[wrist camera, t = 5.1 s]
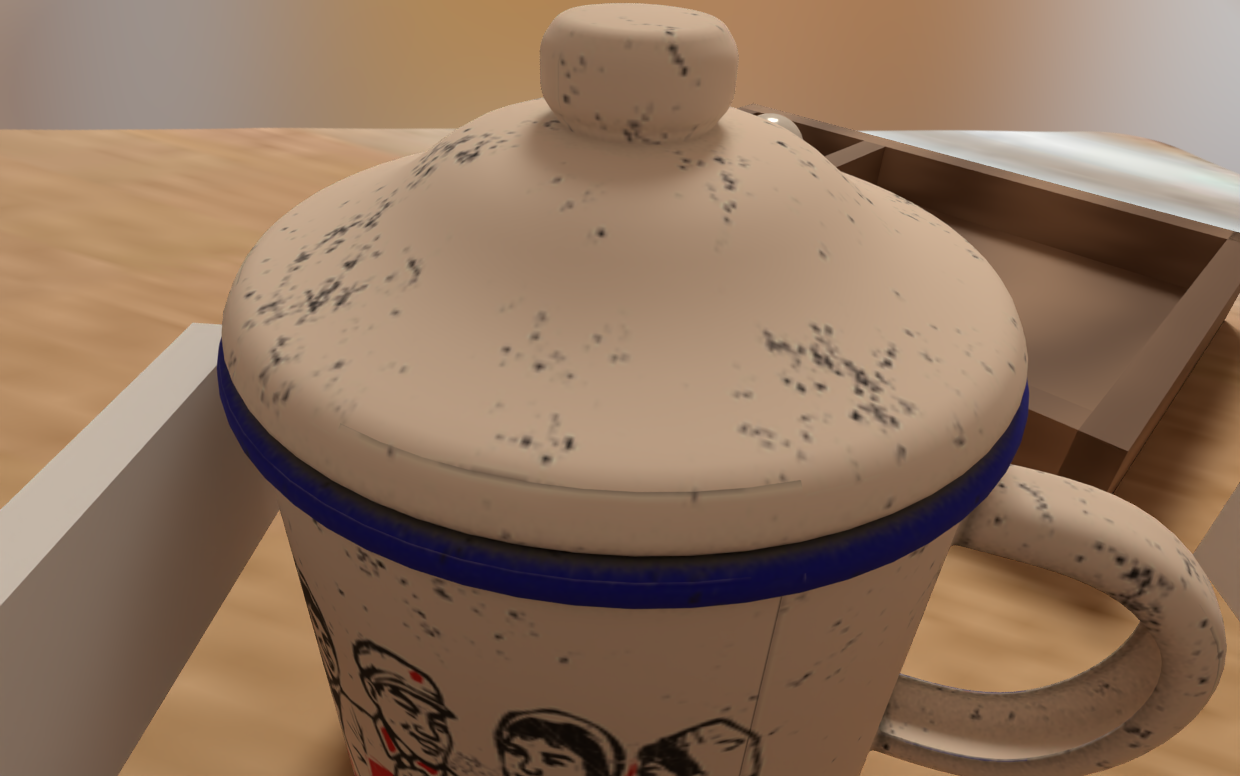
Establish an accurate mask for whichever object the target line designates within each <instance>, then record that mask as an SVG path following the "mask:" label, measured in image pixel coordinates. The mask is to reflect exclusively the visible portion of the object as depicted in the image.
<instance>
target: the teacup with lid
mask: <svg viewBox="0 0 1240 776" xmlns="http://www.w3.org/2000/svg"><path fill="white" fill-rule="evenodd" d="M737 69H738V50H737V47H736V43H735V41H734V39H733V37H732V35H731V33H730V31H729V29H728V28H727V27H726V25H725V24H724V23H723V22H722V21H720V20H719V19H717V18H716V17H714V16H712V15H709V14H707V13H703V12H699V11H695V10H691V9H685V8H680V7H673V6H665V5H654V4H637V3H635V4H634V3H609V4H595V5H586V6H579V7H574V8H571V9H568V10H566V11H564V12H562V13H561V14H559V15H558V16H557V17H556V18H555V19H554V20H553V22H552V23H551V24H550V26H549V28H548V29H547V31H546V32H545V34H544V36H543V39H542V42H541V47H540V84H541V90H542V93H543V96H544V97H543V98H538V99H534V100H530V101H526V102H521V103H517V104H513V105H510V106H506V107H503V108H499V109H497V110H494V111H491V112H489V113H486V114H484V115H482V116H480V117H479V118H477V119H475V120H473V121H471V122H469V123H467V124H466V125H464V126H462V127H460V128H458V129H456V130H455V131H453V132H452V133H450V134H449V135H447V136H446V137H445V138H443V139H442V140H441V141H439V142H438V143H437V144H435V145H434V146H433V147H431V148H430V149H429V150H427V151H424V152H421V153H417V154H413V155H409V156H405V157H402V158H399V159H396V160H392V161H389V162H386V163H383V164H380V165H377V166H374V167H372V168H369V169H366V170H363V171H361V172H358V173H356V174H354V175H351V176H349V177H347V178H344V179H342V180H340V181H338V182H336V183H334V184H332V185H330V186H328V187H326V188H324V189H322V190H320V191H318V192H317V193H315V194H314V195H312V196H311V197H309V198H307V199H306V200H304V201H303V202H301V203H300V204H298V205H297V206H295V207H294V208H293V209H292V210H290V211H289V212H288V213H286V214H285V215H284V216H282V217H281V218H280V219H279V220H278V221H276V222H275V223H274V224H273V225H272V226H271V227H270V228H269V229H268V230H267V231H266V232H265V233H264V234H263V236H262V237H261V238H260V239H259V241H258V242H257V243H256V244H255V246H254V247H253V248H252V250H251V251H250V252H249V253H248V255H247V256H246V258H245V260H244V262H243V264H242V265H241V267H240V269H239V271H238V273H237V275H236V277H235V280H234V282H233V284H232V287H231V290H230V292H229V295H228V299H227V302H226V305H225V308H224V311H223V321H222V332H221V333H222V336H221V340H220V343H219V348H218V359H217V377H218V386H219V395H220V399H221V402H222V405H223V408H224V411H225V414H226V417H227V420H228V423H229V426H230V428H231V429H232V431H233V433H234V435H235V437H236V438H237V440H238V442H239V444H240V446H241V448H242V449H243V451H244V453H245V454H246V455H247V457H248V458H249V459H250V460H251V462H252V463H253V464H254V465H255V467H256V468H257V469H258V470H259V472H260V473H261V474H262V475H263V477H264V478H265V479H266V480H267V481H268V482H270V483H271V484H272V485H273V487H274V490H275V494H276V498H277V501H278V505H279V508H280V512H281V515H282V519H283V522H284V526H285V529H286V533H287V537H288V540H289V544H290V547H291V551H292V554H293V558H294V561H295V565H296V569H297V572H298V576H299V579H300V583H301V586H302V590H303V593H304V597H305V601H306V604H307V608H308V611H309V615H310V618H311V622H312V625H313V629H314V633H315V636H316V640H317V643H318V647H319V650H320V654H321V657H322V661H323V665H324V668H325V672H326V675H327V679H328V682H329V686H330V689H331V693H332V696H333V700H334V704H335V707H336V711H337V714H338V718H339V721H340V725H341V728H342V732H343V736H344V739H345V743H346V746H347V750H348V753H349V757H350V760H351V764H352V768H353V771H354V775H355V776H859V775H860V773H861V770H862V768H863V765H864V762H865V760H866V757H867V755H868V752H869V751H872V750H874V751H878V752H881V753H884V754H887V755H890V756H893V757H896V758H898V759H901V760H905V761H908V762H911V763H914V764H917V765H921V766H924V767H928V768H931V769H935V770H938V771H943V772H947V773H951V774H955V775H960V776H1084V775H1088V774H1092V773H1096V772H1099V771H1103V770H1107V769H1110V768H1112V767H1115V766H1118V765H1121V764H1124V763H1126V762H1129V761H1131V760H1133V759H1135V758H1137V757H1139V756H1142V755H1144V754H1146V753H1148V752H1149V751H1151V750H1153V749H1154V748H1156V747H1158V746H1160V745H1161V744H1163V743H1165V742H1166V741H1167V740H1169V739H1170V738H1172V737H1173V736H1174V735H1176V734H1177V733H1179V732H1180V731H1181V730H1182V729H1183V728H1184V727H1186V726H1187V725H1188V724H1189V723H1190V722H1191V721H1192V720H1193V719H1194V718H1195V717H1196V716H1197V715H1198V714H1199V712H1200V711H1201V710H1202V709H1203V708H1204V706H1205V705H1206V704H1207V703H1208V701H1209V699H1210V698H1211V696H1212V694H1213V693H1214V691H1215V689H1216V688H1217V686H1218V683H1219V681H1220V678H1221V675H1222V672H1223V670H1224V665H1225V657H1226V648H1227V645H1226V637H1225V629H1224V622H1223V618H1222V615H1221V612H1220V608H1219V605H1218V601H1217V598H1216V596H1215V593H1214V591H1213V588H1212V586H1211V584H1210V581H1209V579H1208V577H1207V575H1206V574H1205V572H1204V571H1203V569H1202V568H1201V566H1200V565H1199V563H1198V562H1197V560H1196V559H1195V557H1194V556H1193V554H1192V553H1191V552H1190V551H1189V550H1188V549H1187V548H1186V546H1185V545H1184V544H1183V543H1182V542H1181V541H1180V540H1179V539H1178V538H1177V537H1176V535H1175V534H1173V533H1172V532H1171V531H1170V530H1169V529H1167V528H1166V527H1165V526H1164V525H1163V524H1161V523H1160V522H1159V521H1158V520H1157V519H1155V518H1154V517H1152V516H1151V515H1149V514H1148V513H1146V512H1144V511H1143V510H1141V509H1140V508H1138V507H1137V506H1135V505H1133V504H1131V503H1129V502H1127V501H1125V500H1123V499H1121V498H1119V497H1117V496H1115V495H1113V494H1110V493H1108V492H1105V491H1103V490H1100V489H1098V488H1095V487H1093V486H1090V485H1087V484H1084V483H1081V482H1078V481H1075V480H1071V479H1068V478H1065V477H1061V476H1057V475H1054V474H1050V473H1046V472H1042V471H1038V470H1034V469H1030V468H1025V467H1021V466H1017V465H1012V464H1011V462H1012V460H1013V458H1014V456H1015V454H1016V452H1017V450H1018V448H1019V446H1020V444H1021V441H1022V437H1023V433H1024V429H1025V426H1026V422H1027V418H1028V408H1029V387H1028V380H1027V368H1028V354H1027V347H1026V340H1025V336H1024V333H1023V328H1022V325H1021V322H1020V319H1019V316H1018V313H1017V310H1016V308H1015V305H1014V302H1013V299H1012V297H1011V296H1010V294H1009V292H1008V290H1007V289H1006V287H1005V285H1004V283H1003V282H1002V280H1001V279H1000V277H999V275H998V274H997V273H996V272H995V270H994V269H993V268H992V266H991V265H990V264H989V263H988V261H987V260H986V259H985V258H984V257H983V256H982V255H981V254H980V253H979V252H978V251H977V250H976V249H975V248H974V247H973V246H972V245H971V244H970V243H969V242H968V241H967V240H966V239H964V238H963V237H962V236H961V235H959V234H958V233H957V232H956V231H955V230H953V229H952V228H951V227H950V226H948V225H947V224H945V223H944V222H942V221H941V220H939V219H938V218H937V217H935V216H934V215H932V214H931V213H929V212H927V211H925V210H924V209H922V208H920V207H919V206H917V205H915V204H913V203H912V202H910V201H908V200H906V199H904V198H902V197H900V196H898V195H896V194H894V193H892V192H890V191H887V190H885V189H883V188H881V187H878V186H876V185H874V184H871V183H869V182H867V181H864V180H862V179H859V178H857V177H854V176H851V175H849V174H846V173H843V172H841V171H839V170H838V169H837V168H836V167H835V166H834V165H833V164H832V163H831V162H830V161H829V160H827V159H826V158H825V157H824V156H823V155H822V154H821V153H820V152H819V151H818V150H816V149H815V148H814V147H812V146H811V145H810V144H808V143H807V142H805V141H804V140H802V139H801V138H799V137H798V136H796V135H795V134H794V133H792V132H791V131H789V130H787V129H785V128H784V127H782V126H780V125H778V124H776V123H774V122H771V121H769V120H766V119H764V118H761V117H758V116H756V115H753V114H750V113H747V112H744V111H742V110H739V109H736V108H733V107H730V105H731V103H732V100H733V98H734V94H735V85H736V77H737ZM953 545H958V546H963V547H967V548H971V549H974V550H978V551H982V552H986V553H990V554H993V555H997V556H1001V557H1005V558H1009V559H1012V560H1016V561H1020V562H1023V563H1027V564H1031V565H1034V566H1037V567H1041V568H1044V569H1047V570H1051V571H1054V572H1057V573H1060V574H1062V575H1065V576H1068V577H1071V578H1074V579H1076V580H1078V581H1081V582H1083V583H1086V584H1088V585H1090V586H1092V587H1094V588H1096V589H1098V590H1100V591H1102V592H1104V593H1106V594H1107V595H1109V596H1111V597H1112V598H1114V599H1115V600H1117V601H1118V602H1120V603H1121V604H1122V605H1124V606H1125V607H1126V608H1127V609H1128V610H1130V611H1131V612H1132V613H1133V614H1134V615H1135V616H1136V617H1137V618H1138V619H1139V620H1140V623H1139V624H1138V626H1137V627H1136V629H1135V630H1134V632H1133V633H1132V634H1131V636H1130V637H1129V638H1128V639H1127V640H1126V641H1125V642H1124V643H1123V644H1122V645H1121V646H1120V647H1119V648H1118V649H1117V650H1116V651H1115V652H1113V653H1112V654H1111V655H1110V656H1108V657H1107V658H1106V659H1104V660H1103V661H1101V662H1100V663H1098V664H1097V665H1095V666H1093V667H1092V668H1090V669H1088V670H1086V671H1085V672H1082V673H1080V674H1078V675H1076V676H1074V677H1071V678H1069V679H1066V680H1063V681H1061V682H1058V683H1055V684H1052V685H1048V686H1044V687H1040V688H1036V689H1031V690H1025V691H1017V692H980V691H971V690H965V689H959V688H954V687H949V686H944V685H940V684H936V683H932V682H928V681H924V680H921V679H917V678H914V677H910V676H907V675H904V674H900V672H901V669H902V667H903V664H904V662H905V659H906V656H907V654H908V651H909V649H910V646H911V644H912V641H913V639H914V636H915V634H916V631H917V629H918V626H919V624H920V621H921V619H922V616H923V614H924V611H925V609H926V606H927V603H928V601H929V598H930V596H931V593H932V591H933V588H934V586H935V583H936V581H937V578H938V576H939V573H940V571H941V568H942V566H943V563H944V561H945V558H946V556H947V553H948V550H949V548H950V547H951V546H953Z"/></svg>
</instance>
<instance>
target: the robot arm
mask: <svg viewBox="0 0 1240 776" xmlns="http://www.w3.org/2000/svg"><path fill="white" fill-rule="evenodd" d="M221 332H222V325H218V324H203V323H192V324H191V325H190V326H189V327H188V328H187V329H186V330H185V331H184V332H183V333H182V334H181V335H180V336H179V337H178V338H177V339H176V340H175V341H174V342H173V343H172V344H171V345H169V346H168V347H167V348H166V349H165V350H164V351H163V352H162V353H161V354H160V355H159V356H158V357H157V358H156V359H155V360H154V361H153V362H152V363H151V364H150V365H149V366H148V367H147V368H146V369H145V370H144V371H143V372H142V373H141V374H140V375H139V376H138V377H137V378H136V379H135V380H133V381H132V382H131V383H130V384H129V385H128V386H127V387H126V388H125V389H124V390H123V391H122V392H121V393H120V394H119V395H118V396H117V397H116V398H115V399H114V400H113V401H112V402H111V403H110V404H109V405H108V406H107V407H106V408H105V409H104V410H103V411H102V412H101V413H100V414H99V415H97V416H96V417H95V418H94V419H93V420H92V421H91V422H90V423H89V424H88V425H87V426H86V427H85V428H84V429H83V430H82V431H81V432H80V433H79V434H78V435H77V436H76V437H75V438H74V439H73V440H72V441H71V442H70V443H69V444H68V445H67V446H66V447H65V448H64V449H63V450H61V451H60V452H59V453H58V454H57V455H56V456H55V457H54V458H53V459H52V460H51V461H50V462H49V463H48V464H47V465H46V466H45V467H44V468H43V469H42V470H41V471H40V472H39V473H38V474H37V475H36V476H35V477H34V478H33V479H32V480H31V481H30V482H29V483H28V484H27V485H25V486H24V487H23V488H22V489H21V490H20V491H19V492H18V493H17V494H16V495H15V496H14V497H13V498H12V499H11V500H10V501H9V502H8V503H7V504H6V505H5V506H4V507H3V508H2V509H1V510H0V776H118V774H119V773H120V771H121V769H122V768H123V766H124V764H125V763H126V761H127V759H128V758H129V756H130V754H131V753H132V751H133V750H134V748H135V746H136V745H137V743H138V741H139V740H140V738H141V736H142V735H143V733H144V731H145V730H146V728H147V727H148V725H149V723H150V722H151V720H152V718H153V717H154V715H155V713H156V712H157V710H158V708H159V707H160V705H161V703H162V702H163V700H164V699H165V697H166V695H167V694H168V692H169V690H170V689H171V687H172V685H173V684H174V682H175V680H176V679H177V677H178V676H179V674H180V672H181V671H182V669H183V667H184V666H185V664H186V662H187V661H188V659H189V657H190V656H191V654H192V653H193V651H194V649H195V648H196V646H197V644H198V643H199V641H200V639H201V638H202V636H203V634H204V633H205V631H206V630H207V628H208V626H209V625H210V623H211V621H212V620H213V618H214V616H215V615H216V613H217V611H218V610H219V608H220V607H221V605H222V603H223V602H224V600H225V598H226V597H227V595H228V593H229V592H230V590H231V588H232V587H233V585H234V584H235V582H236V580H237V579H238V577H239V575H240V574H241V572H242V570H243V569H244V567H245V565H246V564H247V562H248V561H249V559H250V557H251V556H252V554H253V552H254V551H255V549H256V547H257V546H258V544H259V542H260V541H261V539H262V538H263V536H264V534H265V533H266V531H267V529H268V528H269V526H270V524H271V523H272V521H273V519H274V518H275V516H276V514H277V513H278V511H279V510H280V508H279V505H278V501H277V498H276V494H275V490H274V487H273V485H272V484H271V483H270V482H268V481H267V480H266V479H265V478H264V477H263V475H262V474H261V473H260V472H259V470H258V469H257V468H256V467H255V465H254V464H253V463H252V462H251V460H250V459H249V458H248V457H247V455H246V454H245V453H244V451H243V449H242V448H241V446H240V444H239V442H238V440H237V438H236V437H235V435H234V433H233V431H232V429H231V428H230V426H229V423H228V420H227V417H226V414H225V411H224V408H223V405H222V402H221V399H220V395H219V386H218V377H217V359H218V348H219V343H220V340H221V336H222V333H221ZM1193 556H1194V557H1195V559H1196V560H1197V562H1198V563H1199V565H1200V566H1201V568H1202V569H1203V571H1204V572H1205V574H1206V575H1207V577H1208V578H1209V579H1210V581H1211V582H1212V584H1213V585H1214V586H1215V588H1216V589H1217V591H1218V592H1219V593H1220V595H1221V596H1222V598H1223V599H1224V600H1225V602H1226V603H1227V605H1228V606H1229V607H1230V609H1231V610H1232V612H1233V613H1234V614H1235V616H1236V617H1237V618H1238V620H1239V621H1240V483H1239V484H1238V486H1237V487H1236V489H1235V491H1234V492H1233V494H1232V495H1231V497H1230V498H1229V500H1228V501H1227V503H1226V504H1225V506H1224V507H1223V509H1222V510H1221V512H1220V514H1219V515H1218V517H1217V518H1216V520H1215V521H1214V523H1213V524H1212V526H1211V527H1210V529H1209V530H1208V532H1207V533H1206V535H1205V537H1204V538H1203V540H1202V541H1201V543H1200V544H1199V546H1198V547H1197V549H1196V550H1195V552H1194V553H1193Z"/></svg>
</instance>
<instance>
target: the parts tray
mask: <svg viewBox="0 0 1240 776" xmlns="http://www.w3.org/2000/svg"><path fill="white" fill-rule="evenodd" d="M737 109H739V110H742V111H744V112H747V113H750V114H753V115H756V116H758V115H761V114H766V113H775V114H779V115H782V116H785V117H787V118H788V119H790V120H791V121H792V122H793V123H794V124H795V125H796V126H797V127H798V129H799V130H800V132H801V135H802V137H803V140H804V141H805V142H807V143H808V144H810V145H811V146H812V147H814V148H815V149H816V150H818V151H819V152H820V153H821V154H822V155H823V156H824V157H825V158H826V159H827V160H829V161H830V162H831V163H832V164H833V165H834V166H835V167H836V168H837V169H838V170H839V171H841V172H843V173H846V174H849V175H851V176H854V177H857V178H859V179H862V180H864V181H867V182H869V183H871V184H874V185H876V186H878V187H881V188H883V189H885V190H887V191H890V192H892V193H894V194H896V195H898V196H900V197H902V198H904V199H906V200H908V201H910V202H912V203H913V204H915V205H917V206H919V207H920V208H922V209H924V210H925V211H927V212H929V213H931V214H932V215H934V216H935V217H937V218H938V219H939V220H941V221H942V222H944V223H945V224H947V225H948V226H950V227H951V228H952V229H953V230H955V231H956V232H957V233H958V234H959V235H961V236H962V237H963V238H964V239H966V240H967V241H968V242H969V243H970V244H971V245H972V246H973V247H974V248H975V249H976V250H977V251H978V252H979V253H980V254H981V255H982V256H983V257H984V258H985V259H986V260H987V261H988V263H989V264H990V265H991V266H992V268H993V269H994V270H995V272H996V273H997V274H998V275H999V277H1000V279H1001V280H1002V282H1003V283H1004V285H1005V287H1006V289H1007V290H1008V292H1009V294H1010V296H1011V297H1012V299H1013V302H1014V305H1015V308H1016V310H1017V313H1018V316H1019V319H1020V322H1021V325H1022V328H1023V333H1024V336H1025V340H1026V347H1027V354H1028V368H1027V380H1028V387H1029V408H1028V418H1027V422H1026V426H1025V429H1024V433H1023V437H1022V441H1021V444H1020V446H1019V448H1018V450H1017V452H1016V454H1015V456H1014V458H1013V460H1012V462H1011V464H1012V465H1017V466H1021V467H1025V468H1030V469H1034V470H1038V471H1042V472H1046V473H1050V474H1054V475H1057V476H1061V477H1065V478H1068V479H1071V480H1075V481H1078V482H1081V483H1084V484H1087V485H1090V486H1093V487H1095V488H1098V489H1100V490H1103V491H1105V492H1108V493H1110V494H1113V492H1114V491H1115V489H1116V488H1117V486H1118V485H1119V483H1120V482H1121V480H1122V478H1123V477H1124V475H1125V474H1126V472H1127V471H1128V469H1129V468H1130V466H1131V464H1132V463H1133V461H1134V460H1135V458H1136V457H1137V455H1138V454H1139V452H1140V450H1141V449H1142V447H1143V446H1144V444H1145V443H1146V441H1147V440H1148V438H1149V436H1150V435H1151V433H1152V432H1153V430H1154V429H1155V427H1156V426H1157V424H1158V423H1159V421H1160V419H1161V418H1162V416H1163V415H1164V413H1165V412H1166V410H1167V409H1168V407H1169V405H1170V404H1171V402H1172V401H1173V399H1174V398H1175V396H1176V395H1177V393H1178V391H1179V390H1180V388H1181V387H1182V385H1183V384H1184V382H1185V381H1186V379H1187V377H1188V376H1189V374H1190V373H1191V371H1192V370H1193V368H1194V367H1195V365H1196V363H1197V362H1198V360H1199V359H1200V357H1201V356H1202V354H1203V353H1204V351H1205V349H1206V348H1207V346H1208V345H1209V343H1210V342H1211V340H1212V339H1213V337H1214V336H1215V334H1216V332H1217V331H1218V329H1219V328H1220V326H1221V325H1222V323H1223V322H1224V320H1225V318H1226V317H1227V315H1228V313H1229V311H1230V309H1231V307H1232V306H1233V304H1234V302H1235V300H1236V298H1237V297H1238V295H1239V293H1240V233H1239V232H1235V231H1231V230H1227V229H1223V228H1220V227H1216V226H1212V225H1208V224H1205V223H1201V222H1197V221H1193V220H1190V219H1186V218H1182V217H1178V216H1175V215H1171V214H1167V213H1163V212H1159V211H1156V210H1152V209H1148V208H1144V207H1141V206H1137V205H1133V204H1129V203H1126V202H1122V201H1118V200H1114V199H1110V198H1107V197H1103V196H1099V195H1095V194H1092V193H1088V192H1084V191H1080V190H1077V189H1073V188H1069V187H1065V186H1062V185H1058V184H1054V183H1050V182H1046V181H1043V180H1039V179H1035V178H1031V177H1028V176H1024V175H1020V174H1016V173H1013V172H1009V171H1005V170H1001V169H998V168H994V167H990V166H986V165H982V164H979V163H975V162H971V161H967V160H964V159H960V158H956V157H952V156H949V155H945V154H941V153H937V152H933V151H930V150H926V149H922V148H918V147H915V146H911V145H907V144H903V143H900V142H896V141H892V140H888V139H885V138H881V137H877V136H873V135H869V134H866V133H862V132H858V131H854V130H851V129H847V128H843V127H839V126H836V125H832V124H828V123H824V122H820V121H817V120H813V119H809V118H805V117H801V116H798V115H794V114H790V113H787V112H783V111H779V110H775V109H772V108H768V107H764V106H760V105H756V104H751V105H747V106H744V107H740V108H737Z"/></svg>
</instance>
